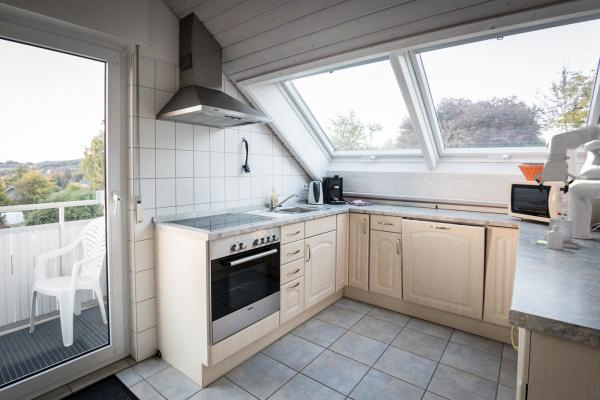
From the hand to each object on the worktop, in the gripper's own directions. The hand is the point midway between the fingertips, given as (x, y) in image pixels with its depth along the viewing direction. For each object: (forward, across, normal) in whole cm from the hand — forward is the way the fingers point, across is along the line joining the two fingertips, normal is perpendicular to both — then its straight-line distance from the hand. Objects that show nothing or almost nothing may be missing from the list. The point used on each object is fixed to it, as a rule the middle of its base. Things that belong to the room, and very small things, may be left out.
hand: (552, 192), depth 165 cm
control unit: (+25, -4, -3) cm, 26 cm away
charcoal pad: (+25, -9, +8) cm, 28 cm away
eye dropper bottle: (+26, -5, +16) cm, 31 cm away
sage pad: (+25, -1, +8) cm, 27 cm away
